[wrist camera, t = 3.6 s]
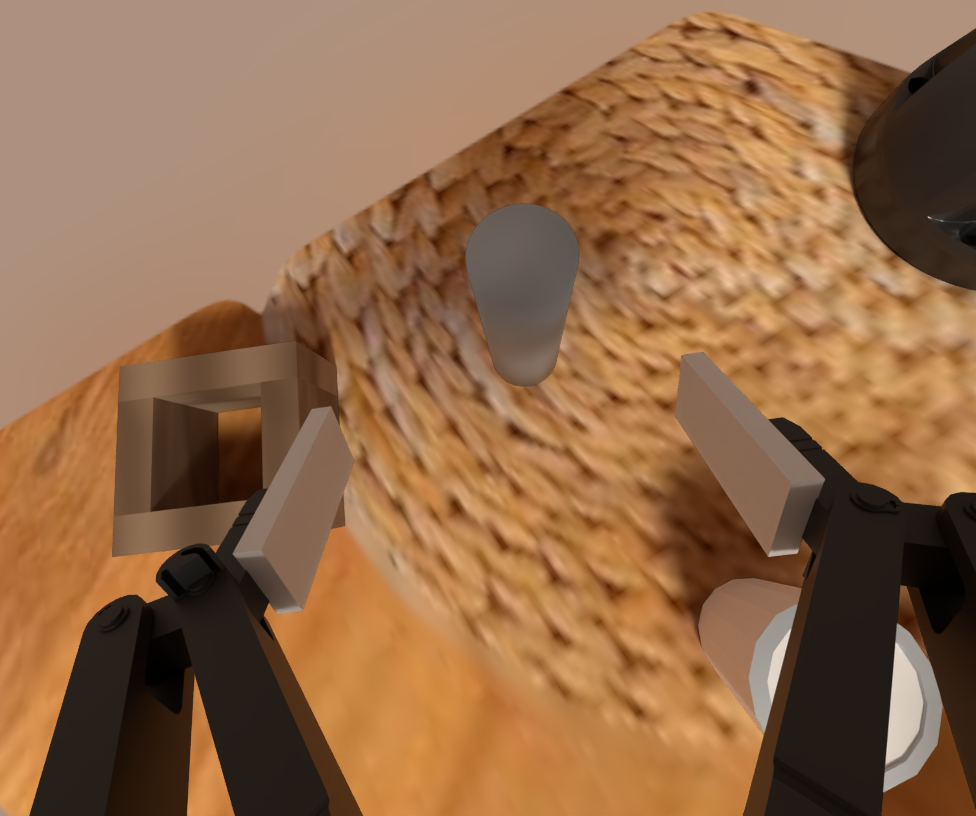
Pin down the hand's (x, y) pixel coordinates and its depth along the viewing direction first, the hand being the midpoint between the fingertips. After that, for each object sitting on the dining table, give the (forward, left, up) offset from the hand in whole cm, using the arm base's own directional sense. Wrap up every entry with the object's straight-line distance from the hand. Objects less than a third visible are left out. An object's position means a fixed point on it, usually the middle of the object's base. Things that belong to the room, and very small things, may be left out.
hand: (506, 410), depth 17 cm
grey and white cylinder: (-11, +12, -10) cm, 19 cm away
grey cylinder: (-1, -5, -10) cm, 11 cm away
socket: (+16, -1, -10) cm, 19 cm away
